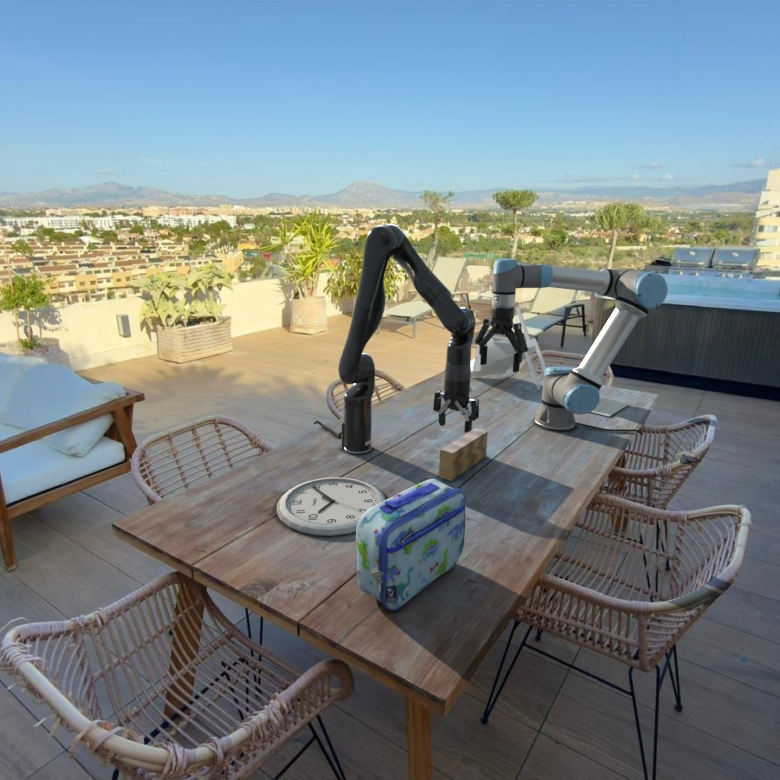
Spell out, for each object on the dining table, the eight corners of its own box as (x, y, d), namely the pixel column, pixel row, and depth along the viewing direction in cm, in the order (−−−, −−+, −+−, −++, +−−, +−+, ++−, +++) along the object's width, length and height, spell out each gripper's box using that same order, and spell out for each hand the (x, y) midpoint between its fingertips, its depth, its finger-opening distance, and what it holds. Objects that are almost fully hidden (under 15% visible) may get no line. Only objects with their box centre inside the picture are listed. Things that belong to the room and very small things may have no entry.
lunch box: (385, 624, 100) (387, 528, 94) (349, 596, 108) (348, 506, 101) (468, 566, 118) (474, 482, 112) (432, 545, 125) (436, 466, 119)
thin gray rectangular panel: (608, 416, 214) (573, 407, 224) (608, 416, 214) (573, 408, 224) (628, 404, 229) (594, 396, 238) (628, 405, 229) (594, 397, 238)
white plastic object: (486, 418, 266) (465, 396, 241) (467, 346, 288) (447, 318, 263) (557, 395, 254) (543, 368, 229) (531, 321, 276) (517, 290, 251)
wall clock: (392, 527, 129) (268, 531, 127) (391, 533, 130) (269, 537, 127) (383, 473, 158) (282, 475, 155) (383, 478, 158) (282, 480, 156)
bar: (474, 452, 178) (476, 427, 175) (485, 456, 175) (487, 431, 172) (438, 477, 160) (440, 449, 157) (451, 481, 158) (452, 453, 155)
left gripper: (430, 375, 154) (428, 426, 159) (473, 384, 146) (469, 438, 151) (443, 370, 160) (441, 420, 164) (485, 378, 152) (481, 430, 156)
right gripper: (466, 303, 181) (464, 363, 187) (529, 312, 163) (524, 377, 170) (480, 301, 186) (477, 359, 192) (542, 309, 168) (536, 372, 175)
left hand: (454, 428), depth 158 cm, fingers open, 8 cm apart
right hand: (499, 368), depth 181 cm, fingers open, 13 cm apart
